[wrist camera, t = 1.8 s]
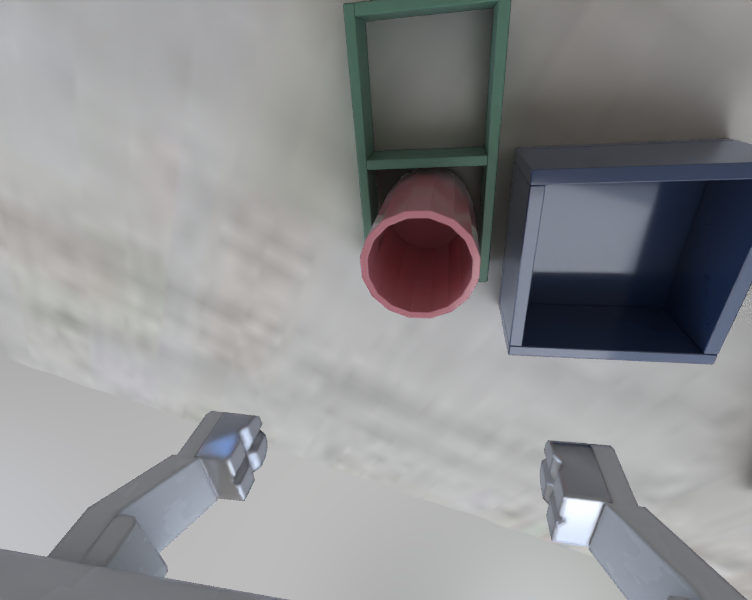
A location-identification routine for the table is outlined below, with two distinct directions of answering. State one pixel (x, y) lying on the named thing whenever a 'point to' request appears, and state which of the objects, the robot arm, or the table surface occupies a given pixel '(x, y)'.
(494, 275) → the table surface
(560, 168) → the navy blue open box
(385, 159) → the rack
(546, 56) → the table surface
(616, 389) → the table surface
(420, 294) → the cup
